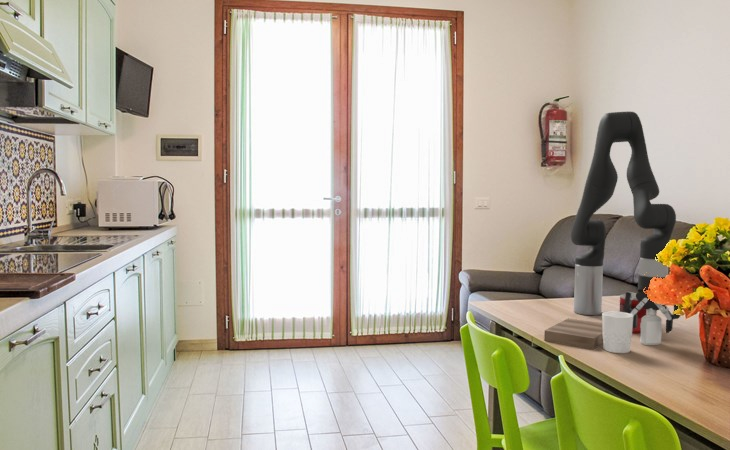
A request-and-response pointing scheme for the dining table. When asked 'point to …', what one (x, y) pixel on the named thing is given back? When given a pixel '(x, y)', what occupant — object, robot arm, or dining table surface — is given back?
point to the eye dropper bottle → (651, 328)
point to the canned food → (633, 305)
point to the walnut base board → (576, 333)
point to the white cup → (617, 331)
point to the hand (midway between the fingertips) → (651, 330)
